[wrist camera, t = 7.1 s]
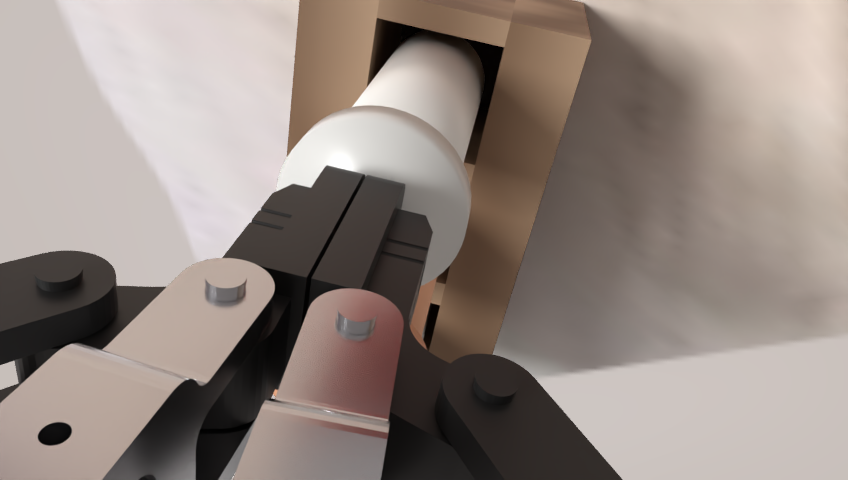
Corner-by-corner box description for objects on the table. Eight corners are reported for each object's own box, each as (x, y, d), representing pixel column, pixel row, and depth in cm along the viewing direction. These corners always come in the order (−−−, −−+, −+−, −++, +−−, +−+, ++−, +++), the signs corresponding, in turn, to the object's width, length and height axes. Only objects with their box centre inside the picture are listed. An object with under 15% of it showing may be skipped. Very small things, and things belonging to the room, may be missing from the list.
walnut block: (583, 2, 22) (591, 40, 18) (485, 327, 29) (475, 408, 25) (349, -51, 22) (301, -27, 18) (310, 283, 30) (270, 356, 25)
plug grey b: (511, 31, 19) (487, 147, 12) (481, 149, 21) (445, 312, 14) (385, 2, 20) (283, 98, 12) (367, 122, 22) (270, 268, 14)
